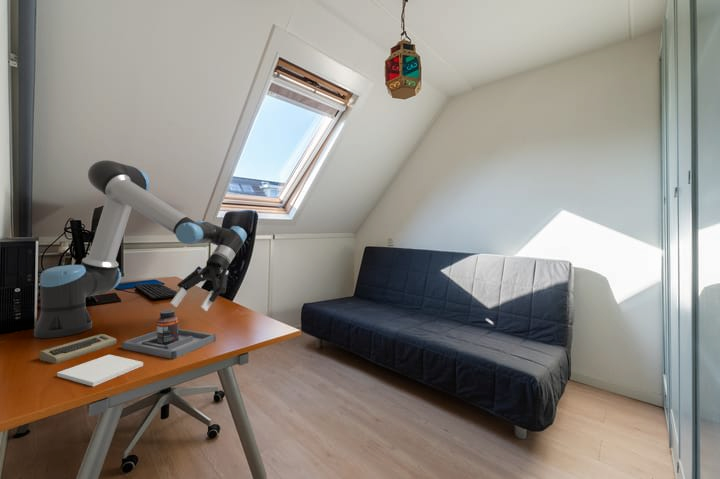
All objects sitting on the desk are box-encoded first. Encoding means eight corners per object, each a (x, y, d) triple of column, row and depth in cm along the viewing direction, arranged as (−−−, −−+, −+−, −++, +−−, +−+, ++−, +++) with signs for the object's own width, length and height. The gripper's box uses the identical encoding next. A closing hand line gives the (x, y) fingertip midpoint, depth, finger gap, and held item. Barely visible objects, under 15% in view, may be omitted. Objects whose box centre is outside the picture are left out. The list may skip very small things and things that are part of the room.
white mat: (57, 376, 78) (57, 372, 78) (109, 357, 89) (109, 354, 89) (93, 386, 73) (93, 382, 73) (143, 365, 84) (143, 362, 84)
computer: (56, 365, 85) (55, 353, 84) (38, 361, 87) (38, 349, 87) (117, 345, 99) (117, 335, 99) (100, 342, 102) (100, 332, 102)
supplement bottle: (174, 340, 103) (174, 307, 103) (181, 345, 100) (181, 310, 99) (154, 345, 99) (153, 311, 98) (161, 350, 95) (160, 314, 94)
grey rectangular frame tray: (121, 348, 96) (121, 342, 96) (168, 332, 111) (168, 326, 111) (173, 359, 89) (173, 352, 89) (216, 340, 104) (216, 334, 104)
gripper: (251, 267, 117) (223, 316, 103) (201, 263, 125) (168, 309, 111) (242, 254, 112) (210, 304, 98) (190, 251, 120) (154, 298, 106)
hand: (187, 307), depth 105 cm, fingers open, 13 cm apart
